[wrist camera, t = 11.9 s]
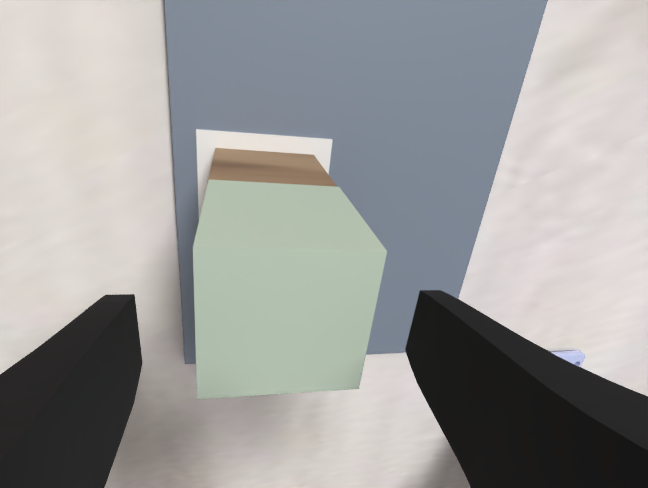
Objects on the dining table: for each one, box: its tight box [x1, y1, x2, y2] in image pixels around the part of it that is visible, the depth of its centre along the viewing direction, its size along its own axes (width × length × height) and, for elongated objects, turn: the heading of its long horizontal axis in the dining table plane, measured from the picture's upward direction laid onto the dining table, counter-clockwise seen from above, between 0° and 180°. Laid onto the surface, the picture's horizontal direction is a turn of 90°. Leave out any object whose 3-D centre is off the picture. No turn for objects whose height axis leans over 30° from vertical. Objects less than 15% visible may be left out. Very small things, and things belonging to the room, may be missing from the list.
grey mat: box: [164, 0, 548, 364], centre depth 20 cm, size 20×16×1 cm
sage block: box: [193, 180, 387, 399], centre depth 12 cm, size 4×4×5 cm
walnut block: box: [208, 148, 337, 187], centre depth 16 cm, size 4×4×5 cm
